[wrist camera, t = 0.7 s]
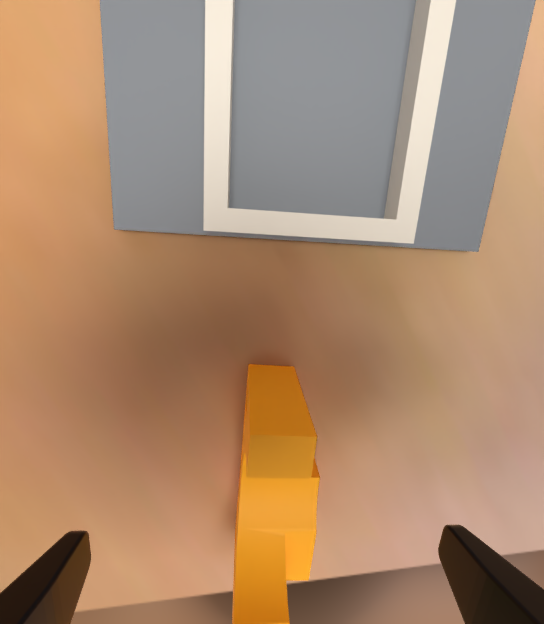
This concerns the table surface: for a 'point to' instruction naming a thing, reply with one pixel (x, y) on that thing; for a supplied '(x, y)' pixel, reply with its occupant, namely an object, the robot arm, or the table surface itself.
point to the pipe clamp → (274, 496)
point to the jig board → (310, 116)
